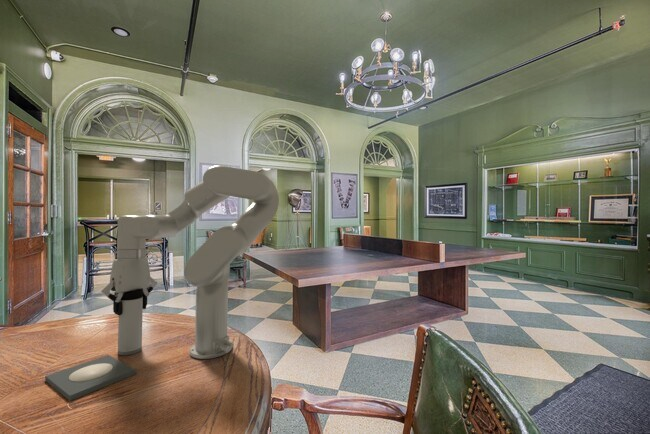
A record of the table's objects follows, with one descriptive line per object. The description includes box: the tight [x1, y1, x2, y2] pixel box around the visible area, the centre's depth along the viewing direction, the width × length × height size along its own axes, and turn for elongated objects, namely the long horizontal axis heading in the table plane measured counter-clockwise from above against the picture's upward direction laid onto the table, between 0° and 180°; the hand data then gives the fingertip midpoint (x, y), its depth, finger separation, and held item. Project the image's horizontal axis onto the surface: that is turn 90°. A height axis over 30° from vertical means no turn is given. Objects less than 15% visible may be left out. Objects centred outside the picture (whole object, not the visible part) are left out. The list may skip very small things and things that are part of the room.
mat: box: [44, 354, 137, 402], centre depth 77 cm, size 16×14×1 cm
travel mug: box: [117, 288, 144, 356], centre depth 92 cm, size 6×7×20 cm
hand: (130, 310), depth 92 cm, fingers open, 6 cm apart
